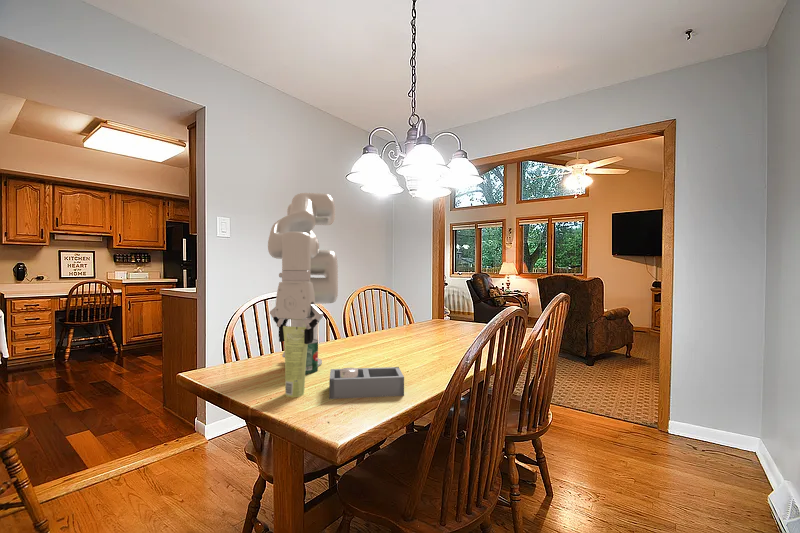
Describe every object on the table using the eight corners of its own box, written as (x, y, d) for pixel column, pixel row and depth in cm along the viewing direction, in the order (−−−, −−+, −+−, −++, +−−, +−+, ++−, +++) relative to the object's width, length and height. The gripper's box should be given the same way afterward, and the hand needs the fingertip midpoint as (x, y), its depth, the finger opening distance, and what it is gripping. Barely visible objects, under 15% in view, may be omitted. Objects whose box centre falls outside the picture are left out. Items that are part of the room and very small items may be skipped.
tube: (301, 392, 109) (302, 324, 109) (309, 397, 105) (310, 326, 105) (282, 397, 106) (282, 325, 105) (289, 402, 102) (290, 328, 102)
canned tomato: (289, 373, 129) (289, 340, 128) (310, 369, 134) (310, 337, 134) (300, 378, 123) (301, 344, 123) (322, 374, 128) (322, 341, 128)
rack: (329, 402, 102) (329, 379, 102) (330, 389, 112) (330, 369, 112) (404, 399, 105) (404, 377, 105) (398, 387, 115) (398, 367, 115)
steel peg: (336, 393, 106) (336, 371, 106) (344, 387, 111) (344, 367, 111) (353, 395, 104) (353, 373, 104) (360, 389, 109) (360, 368, 109)
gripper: (260, 277, 104) (260, 342, 104) (317, 278, 99) (316, 347, 99) (277, 276, 111) (277, 337, 111) (331, 277, 106) (331, 341, 106)
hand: (295, 341), depth 105 cm, fingers closed on tube, 7 cm apart
